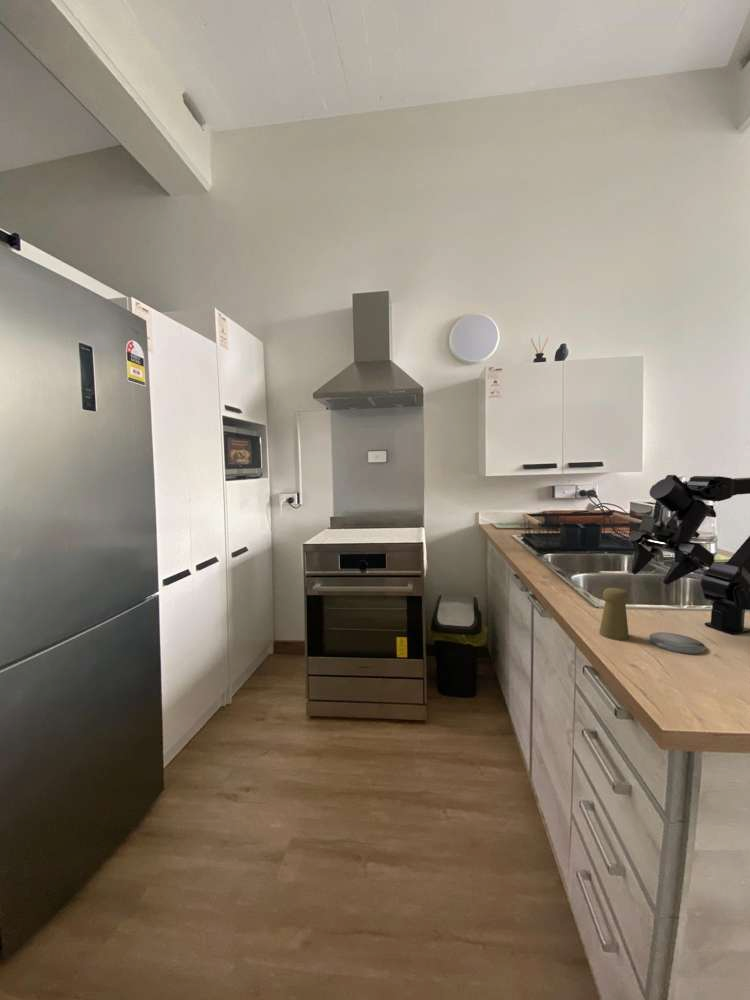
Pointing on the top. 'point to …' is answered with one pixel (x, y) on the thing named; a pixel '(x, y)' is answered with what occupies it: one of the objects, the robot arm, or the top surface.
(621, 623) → the cork
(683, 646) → the coaster
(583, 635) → the top surface
